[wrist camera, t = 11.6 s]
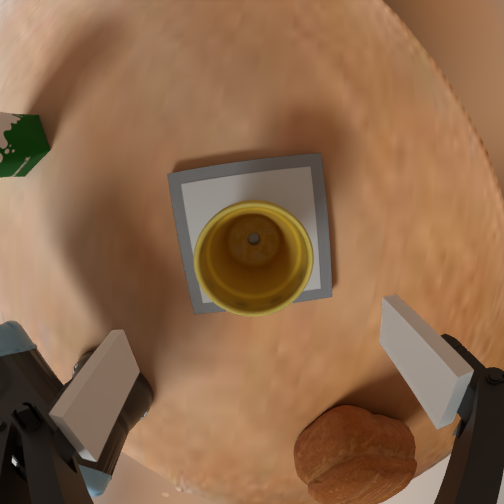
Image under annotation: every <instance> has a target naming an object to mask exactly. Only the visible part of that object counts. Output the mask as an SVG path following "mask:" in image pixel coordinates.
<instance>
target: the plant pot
mask: <svg viewBox="0 0 504 504" xmlns="http://www.w3.org/2000/svg"><path fill="white" fill-rule="evenodd" d="M253 233H255V234H257V235H258V236H259V241H258V242H257V243H255V244H252V243H250V242H249V240H248V238H249V236H250V235H251V234H253ZM313 264H314V253H313V247H312V243H311V240H310V237H309V235H308V233H307V231H306V229H305V228H304V226H303V225H302V223H301V222H300V221H299V220H298V219H297V218H296V217H295V216H294V215H293V214H292V213H290V212H289V211H288V210H286V209H285V208H283V207H281V206H279V205H277V204H274V203H272V202H268V201H264V200H245V201H240V202H236V203H234V204H231V205H229V206H227V207H225V208H223V209H222V210H220V211H219V212H218V213H217V214H215V215H214V216H213V217H212V218H211V219H210V220H209V221H208V222H207V224H206V225H205V226H204V228H203V229H202V231H201V232H200V234H199V236H198V239H197V242H196V245H195V249H194V270H195V274H196V277H197V280H198V282H199V285H200V287H201V288H202V290H203V291H204V293H205V294H206V295H207V296H208V297H209V299H210V300H212V301H213V302H214V303H215V304H216V305H218V306H219V307H221V308H222V309H224V310H226V311H229V312H231V313H234V314H237V315H242V316H249V317H256V316H264V315H269V314H272V313H275V312H277V311H280V310H282V309H283V308H285V307H287V306H288V305H290V304H291V303H292V302H293V301H294V300H295V299H296V298H298V296H299V295H300V294H301V293H302V292H303V290H304V289H305V287H306V285H307V283H308V281H309V279H310V277H311V273H312V270H313Z"/></svg>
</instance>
